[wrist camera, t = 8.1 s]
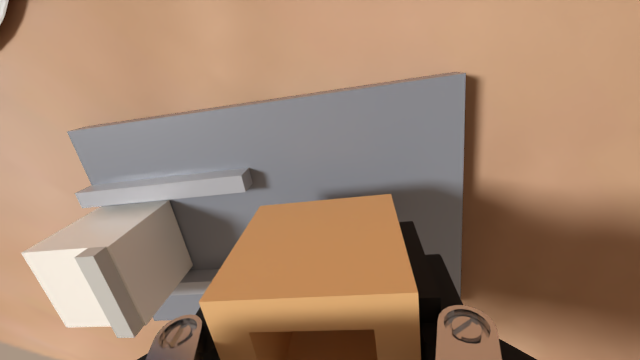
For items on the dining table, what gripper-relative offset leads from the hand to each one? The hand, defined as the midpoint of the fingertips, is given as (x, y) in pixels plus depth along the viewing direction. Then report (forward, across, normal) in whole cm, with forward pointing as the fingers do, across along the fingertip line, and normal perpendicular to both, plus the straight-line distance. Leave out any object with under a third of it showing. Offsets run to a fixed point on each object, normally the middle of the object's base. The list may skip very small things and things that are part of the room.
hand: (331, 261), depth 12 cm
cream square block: (+3, +10, 0) cm, 11 cm away
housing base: (+4, +3, 0) cm, 5 cm away
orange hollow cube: (0, 0, 0) cm, 0 cm away
